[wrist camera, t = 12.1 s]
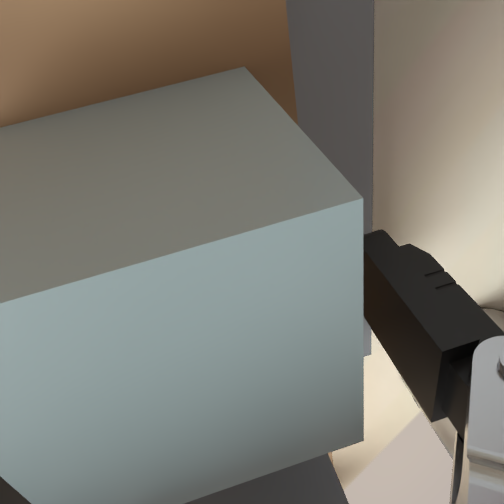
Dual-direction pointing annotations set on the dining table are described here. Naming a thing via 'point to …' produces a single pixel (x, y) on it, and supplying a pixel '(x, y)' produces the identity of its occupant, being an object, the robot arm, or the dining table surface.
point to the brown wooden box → (134, 50)
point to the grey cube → (286, 487)
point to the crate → (174, 297)
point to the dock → (337, 90)
